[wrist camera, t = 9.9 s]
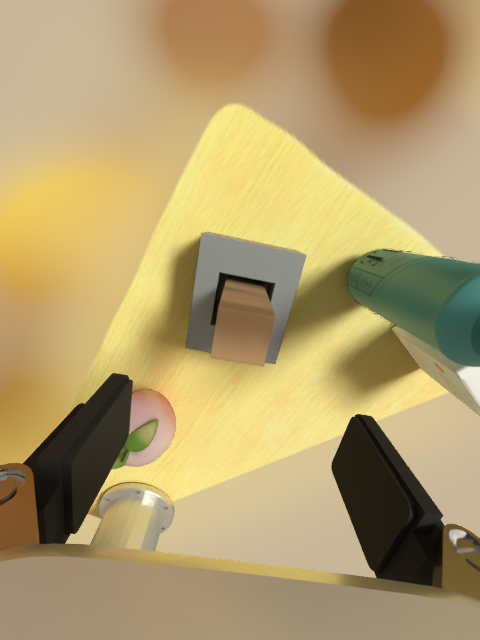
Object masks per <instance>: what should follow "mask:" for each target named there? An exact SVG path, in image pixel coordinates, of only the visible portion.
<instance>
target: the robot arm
mask: <svg viewBox="0 0 480 640" xmlns="http://www.w3.org/2000/svg"><path fill="white" fill-rule="evenodd" d="M132 385H133V381H132V380H129V377H128V376H127V375H122V374H116V373H113V374H112V375H111V376H110V377H109V378H108V379H107V380H106V381H105V382H104V383H103V384H102V386H101V387H100V388H99V389H98V390H97V391H96V392H95V393H94V395H93V396H92V397H91V398H90V399H89V400H88V401H87V402H86V404H83V403H81V404H79V405H77V406H76V407H75V408H74V409H73V410H72V411H71V413H70V414H69V415H68V416H67V417H66V418H65V419H64V420H63V421H62V422H61V423H60V424H59V426H58V427H57V428H56V429H55V430H54V431H53V432H52V433H51V434H50V435H49V436H48V437H47V438H46V439H45V440H44V442H43V443H42V444H41V445H40V446H39V447H38V448H37V449H36V450H35V451H34V452H33V453H32V455H30V457H29V458H28V459H27V460H26V461H25V462H24V463H23V464H20V463H11V464H10V463H9V464H5V465H0V640H480V538H478V537H477V536H476V535H475V534H473V533H472V532H470V531H469V530H467V529H465V528H463V527H461V526H458V525H456V524H447V525H445V526H444V524H443V523H442V521H441V518H442V517H443V515H442V513H441V512H440V510H439V509H438V508H437V506H436V505H435V503H434V502H433V501H432V499H431V498H430V496H429V495H428V494H427V492H426V491H425V489H424V488H423V487H422V485H421V484H420V482H419V481H418V480H417V478H416V477H415V476H414V474H413V473H412V471H411V470H410V469H409V467H408V466H407V465H406V463H405V462H404V460H403V459H402V457H401V456H400V455H399V453H398V452H397V450H396V449H395V448H394V446H393V445H392V443H391V442H390V441H389V439H388V438H387V437H386V435H385V434H384V432H383V431H382V430H381V428H380V427H379V425H378V424H377V423H376V421H375V420H374V418H373V417H371V416H367V415H361V414H357V415H355V417H352V418H351V419H350V422H349V424H348V426H347V429H346V431H345V433H344V436H343V438H342V440H341V443H340V445H339V448H338V450H337V452H336V454H335V457H334V459H333V461H332V472H333V475H334V478H335V480H336V483H337V485H338V488H339V490H340V493H341V495H342V498H343V501H344V503H345V506H346V509H347V511H348V514H349V516H350V519H351V522H352V524H353V526H354V529H355V532H356V535H357V537H358V539H359V542H360V545H361V547H362V550H363V552H364V555H365V557H366V560H367V563H368V565H369V567H370V568H371V569H372V570H373V571H374V572H375V575H376V577H377V578H370V577H362V576H354V575H346V574H338V573H331V572H323V571H315V570H307V569H299V568H291V567H283V566H275V565H266V564H258V563H250V562H241V561H233V560H225V559H216V558H207V557H199V556H190V555H182V554H173V553H164V552H155V550H156V546H157V542H158V538H159V535H160V533H162V532H164V531H165V530H167V528H169V526H170V525H171V523H172V521H173V517H174V506H173V504H172V502H171V500H170V499H169V497H168V496H167V495H165V494H164V493H163V492H162V491H160V490H159V489H157V488H154V487H152V486H149V485H146V484H140V483H124V484H120V485H117V486H114V487H112V488H111V489H109V490H108V491H107V492H106V493H105V494H104V495H103V497H102V499H101V501H100V503H99V506H98V511H99V515H100V517H101V519H102V521H101V523H100V525H99V527H98V529H97V531H96V534H95V535H94V538H93V539H92V542H91V544H90V545H84V544H65V543H66V541H67V539H68V537H69V536H70V534H75V533H76V532H77V531H78V530H79V528H80V526H81V524H82V522H83V521H84V519H85V517H86V515H87V513H88V511H89V510H90V508H91V506H92V504H93V502H94V500H95V499H96V497H97V495H98V493H99V491H100V489H101V487H102V486H103V484H104V482H105V480H106V478H107V476H108V474H109V473H110V471H111V469H112V467H113V465H114V463H115V461H116V460H117V458H118V456H119V454H120V452H121V450H122V448H123V447H124V445H125V443H126V441H127V438H128V435H129V430H130V415H131V400H132Z"/></svg>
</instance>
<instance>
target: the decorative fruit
mask: <svg viewBox="0 0 480 640" xmlns="http://www.w3.org/2000/svg"><path fill="white" fill-rule="evenodd" d="M175 431H176V418H175V413H174V411H173V408H172V406H171V404H170V403H169V401H168V400H167V399H166V398H165V397H164V396H163V395H162V394H160V393H159V392H156V391H152V390H141V391H137V392H134V393H132V400H131V415H130V430H129V435H128V438H127V441H126V443H125V445H124V447H123V448H122V450H121V452H120V454H119V456H118V458H117V460H116V461H115V463H114V465H113V467H112V469H116V468H120V467H122V466H124V465H126V466H132V467H138V466H143V465H147V464H149V463H151V462H153V461H155V460H156V459H157V458H159V457H160V456H161V455H162V454H163V453H164V452H165V451H166V450H167V448H168V447H169V446H170V444H171V442H172V440H173V438H174V435H175Z"/></svg>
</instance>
